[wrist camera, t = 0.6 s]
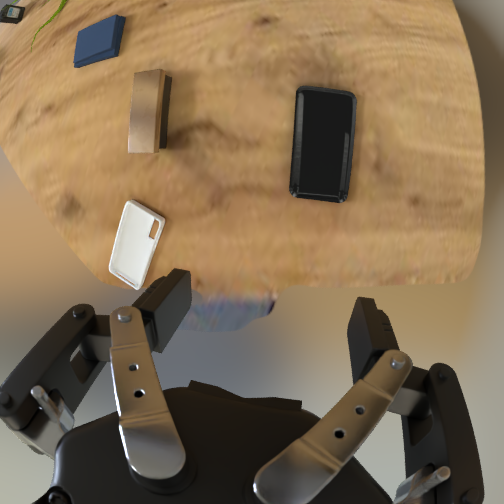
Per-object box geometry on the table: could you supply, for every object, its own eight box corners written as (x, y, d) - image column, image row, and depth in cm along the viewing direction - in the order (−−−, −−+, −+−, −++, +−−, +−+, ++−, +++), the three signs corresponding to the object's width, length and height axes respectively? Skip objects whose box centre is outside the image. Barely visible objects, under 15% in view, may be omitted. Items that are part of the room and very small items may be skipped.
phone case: (131, 197, 41) (111, 267, 47) (126, 199, 39) (107, 270, 46) (166, 219, 41) (142, 287, 47) (162, 221, 40) (138, 291, 46)
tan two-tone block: (148, 77, 32) (134, 72, 29) (173, 74, 32) (160, 68, 28) (142, 151, 37) (127, 153, 34) (167, 151, 37) (153, 153, 33)
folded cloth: (85, 31, 29) (77, 29, 27) (126, 17, 28) (118, 13, 26) (78, 68, 33) (69, 66, 30) (118, 56, 31) (110, 53, 29)
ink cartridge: (21, 20, 27) (0, 18, 19) (17, 24, 27) (-3, 22, 20) (25, 7, 25) (5, 4, 17) (21, 10, 25) (1, 8, 18)
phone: (288, 196, 35) (296, 84, 29) (288, 195, 36) (296, 86, 30) (347, 204, 34) (357, 93, 28) (346, 202, 35) (356, 94, 29)
